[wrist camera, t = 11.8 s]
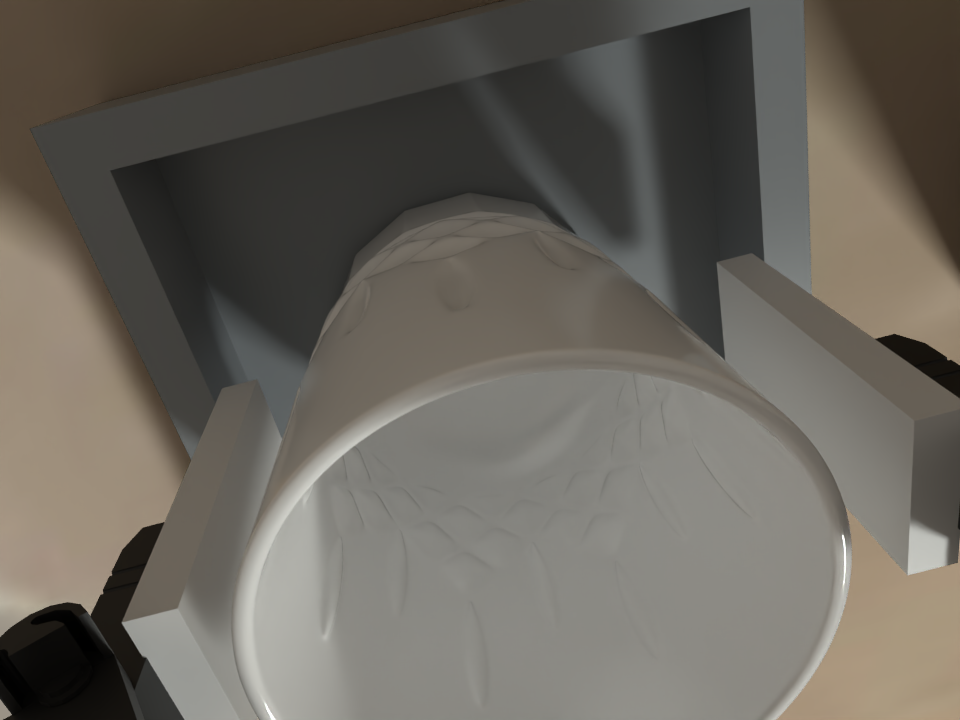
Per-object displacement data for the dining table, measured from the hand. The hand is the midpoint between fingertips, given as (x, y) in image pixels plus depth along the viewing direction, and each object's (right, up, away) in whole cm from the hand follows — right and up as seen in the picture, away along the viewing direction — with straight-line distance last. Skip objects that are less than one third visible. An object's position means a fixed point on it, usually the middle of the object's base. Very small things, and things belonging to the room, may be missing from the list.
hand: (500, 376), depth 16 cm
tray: (0, +2, +3) cm, 4 cm away
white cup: (-1, +1, +3) cm, 3 cm away
